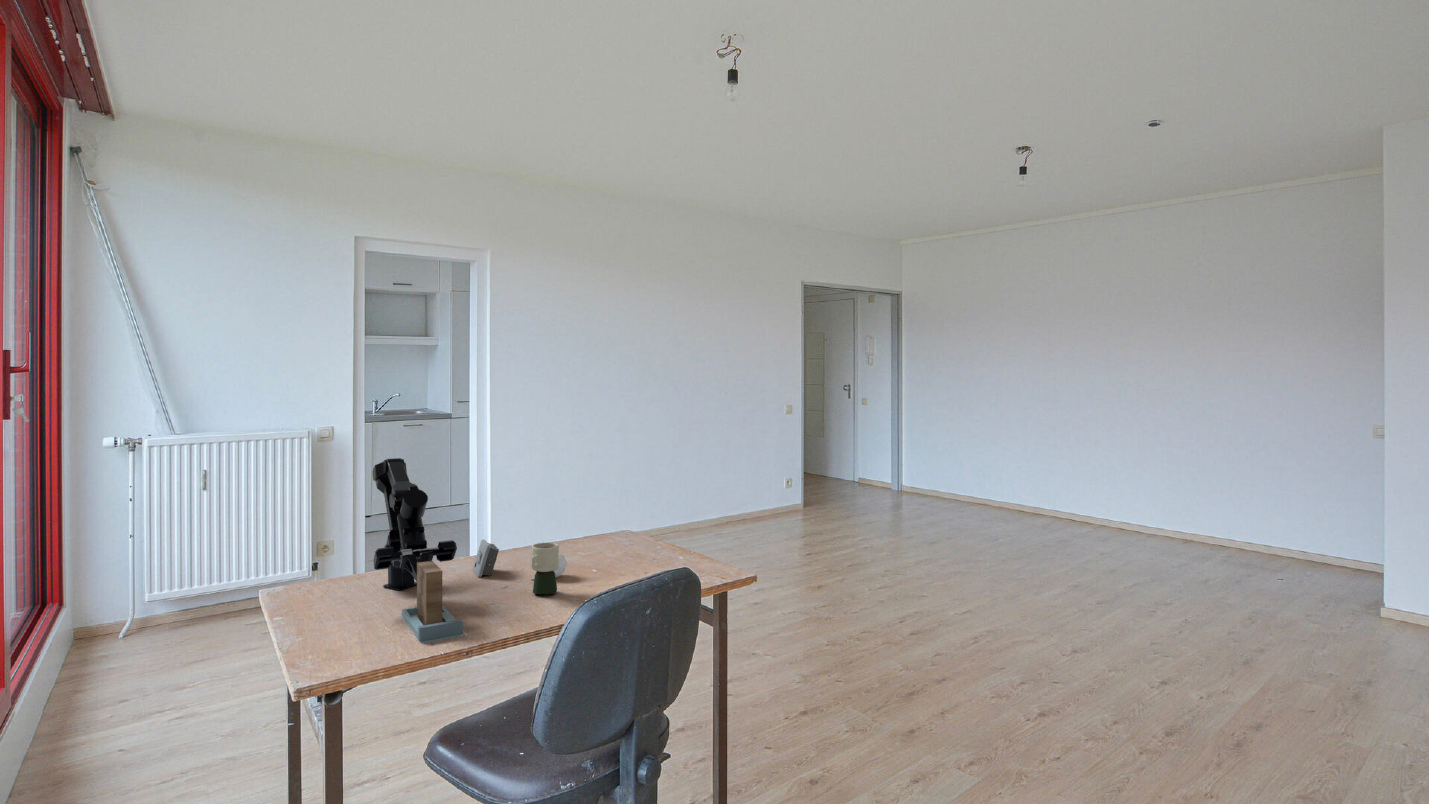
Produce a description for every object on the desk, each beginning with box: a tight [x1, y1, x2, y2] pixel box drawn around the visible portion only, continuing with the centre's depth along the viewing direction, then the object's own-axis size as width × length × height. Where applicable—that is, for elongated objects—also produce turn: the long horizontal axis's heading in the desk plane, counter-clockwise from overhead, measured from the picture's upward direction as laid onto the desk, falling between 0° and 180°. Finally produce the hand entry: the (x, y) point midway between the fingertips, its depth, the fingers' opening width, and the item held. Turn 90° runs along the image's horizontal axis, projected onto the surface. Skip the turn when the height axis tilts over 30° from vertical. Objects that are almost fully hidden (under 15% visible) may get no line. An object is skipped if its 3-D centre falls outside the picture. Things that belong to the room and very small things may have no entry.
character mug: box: [530, 541, 560, 596], centre depth 193 cm, size 11×7×13 cm, turn 156°
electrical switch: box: [472, 538, 500, 578], centre depth 212 cm, size 9×5×9 cm, turn 28°
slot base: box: [401, 604, 464, 645], centre depth 167 cm, size 21×9×4 cm, turn 33°
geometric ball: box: [553, 552, 568, 579], centre depth 209 cm, size 8×8×8 cm
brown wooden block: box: [416, 560, 443, 625], centre depth 169 cm, size 10×4×13 cm, turn 33°
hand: (421, 584), depth 177 cm, fingers closed
